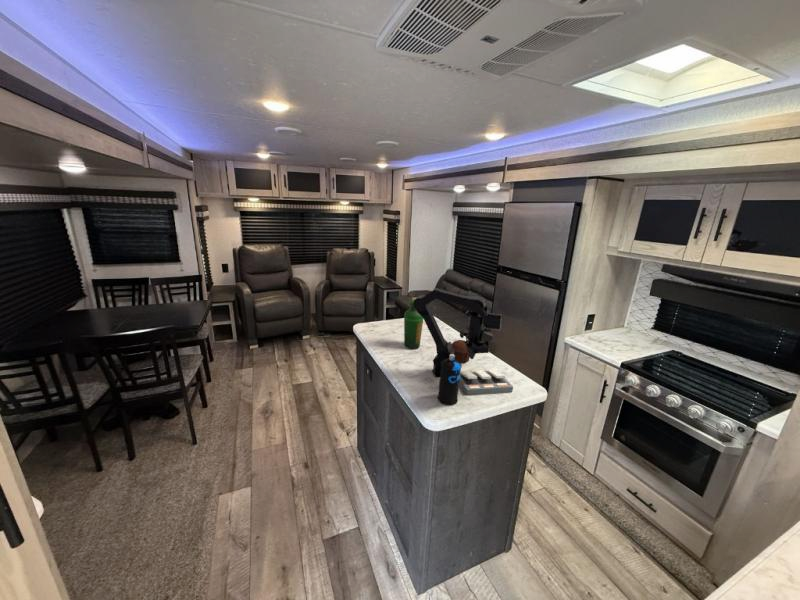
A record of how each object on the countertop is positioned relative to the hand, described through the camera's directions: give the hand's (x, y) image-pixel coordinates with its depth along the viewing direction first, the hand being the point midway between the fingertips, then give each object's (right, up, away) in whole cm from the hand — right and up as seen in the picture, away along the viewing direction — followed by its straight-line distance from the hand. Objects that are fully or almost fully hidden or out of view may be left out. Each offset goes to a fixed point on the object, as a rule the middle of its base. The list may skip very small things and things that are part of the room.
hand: (471, 358), depth 137 cm
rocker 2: (+5, -8, +1) cm, 9 cm away
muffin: (-1, -5, +23) cm, 24 cm away
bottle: (-25, 0, +35) cm, 43 cm away
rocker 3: (+11, -8, +2) cm, 14 cm away
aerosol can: (-12, -15, -11) cm, 22 cm away
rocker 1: (-1, -8, 0) cm, 8 cm away
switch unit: (+5, -12, +1) cm, 13 cm away
